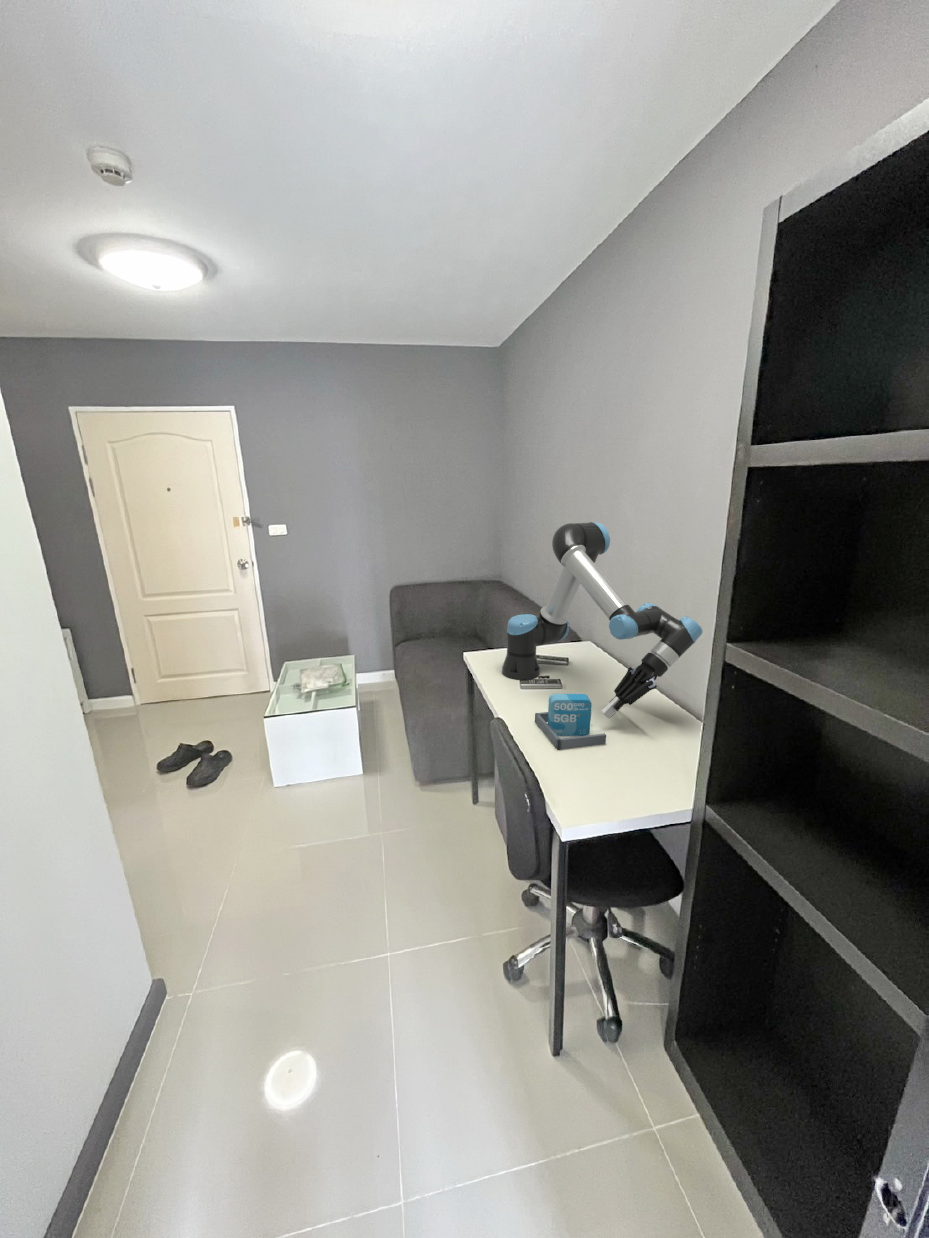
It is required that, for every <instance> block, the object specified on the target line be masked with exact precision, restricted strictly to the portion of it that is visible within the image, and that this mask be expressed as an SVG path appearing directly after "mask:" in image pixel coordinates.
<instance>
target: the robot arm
mask: <svg viewBox="0 0 929 1238" xmlns="http://www.w3.org/2000/svg"><path fill="white" fill-rule="evenodd" d="M551 541H552V542H551V543H552V544H551V545H552V551H553V553H554V556H555V557H556V559H557V560H558V562H559V563H560V564H561V566H562V568H561V571H560V573H559V575H558V577H557V580H556V583H555V585H554V587H553V590H552V592H551V594H550V597H549V599H548V602H547V604H546V605H545V606H543V607H541V609H540V610H539V614H538V615H537V616H536V615H534V614H531V613H530V614H529V613H525V614H518V615H517V614H516V615H514V616H512V617H510V618H509V619H508V623H507V629H506V632H507V634H506V636H507V639H506V655H505V658H504V662H503V665H502V667H501V674H502V675H503V676H505V677H507V678H510V679H513V680H523V679H526V680H532V679H535V678H538V677H539V676H540V674H541V673H540V672H541V669H540V665H539V662H538V658H537V647H539V646H543V645H548V644H549V645H550V644H555V643H558V642H561V641H562V640H564V639H565V638H566V637H567V636H568V634H569V631H570V626H569V625H570V622H569V617H568V615H567V614H568V611H569V609H570V607H571V606H572V603H573V601H574V599H575V597H576V594H577V592H578V590H579V589H580V588H579V587H580V585H581V586H582V587H583V589H584V590H585V591H586V592H587V594H588V595H589V596H590V597H591V599H592V600H593V601H594V603H595V604H596V605H597V606H598V608H599V609H600V610H601V612H602V613H603V614H604V615H605V616H606V618H607V619H608V620H609V622H608V629H609V631H610V634H611V635H612V637H613V638H614V639H616V640H631V639H634V638H637V637H641V636H646V635H650V634H654V635H655V636H657V637H659V638H660V640H659V641H658V642H657V643H656V644H655V645H654V646H653V647H652V648H651V649H650V652H647V653H646V654H645V655H644V657H642V659H641V664H640V665H638V666H636V668H635V667H634V668H632V666H630V667H628V669H627V671H626V673H625V675H624V676H623V678H622V679H621V680H620V682H618V684H617V686H616V687H615V688H614V690H613V692H614V693H615V696H614V697H613V698H611V700H610V701H609V703H608V704H607V705H606V706H605V707H604V708H603V709H602V710H601V712H602V713H603V715H604V716H606V718H608V719H610V718H611V717H612V716H613V715H614V714H616V712H617V711H620V709H621V708H622V707H624V705H626V704H627V705H629V706H630V705H633V704H634V703H636V702H637V701H638V700H639V699H641V698H642V697H644V696H645V695H647V693H649V692H650V691H653V690H654V689H656V688H657V687H658V686H657V684H656V680H657V677H658V678H659V677H660V678H661V677H663V675H664V674H666V672H667V671H668V670H669V668H671V667H672V666H673V665H674V664H675V663H676V662H677V661H678V659H679V658H681V657H682V656H683V655H684V653H685V652H687V651H688V650H689V648H691V646H693V645H694V644H696V641H698V639H699V638H700V637H701V636H702V635H703V629H702V626H701V625H700V624H699V623H698V622H697V621H696V620H694V619H693V618H692V617H689V616H683V617H681V618H680V619H678V618H675V617H674V616H672V615H671V614H669V613H668V612H667V611H665V610H664V609H662V608H660V607H659V606H657V605H655V604H653V603H651V602H645V603H643V604H642V605H640V606H639V607H638V608H637V610H636V611H635V610H634V609H633V608H632V607H631V605H630V604H629V603H628V602H627V601H626V599H624V597H623V596H622V595H621V594H620V592H619V591H618V589H616V587H614V585H613V584H612V582H611V581H609V579H608V578H607V577H606V575H605V574H604V573H603V572H602V571H601V569H600V568H599V567H598V566H597V565H596V561H597V558H598V557H599V555H603V554H605V553H606V552H607V551H608V549H609V547H610V543H611V537H610V535H609V530H608V528H607V527H606V526H605V525H603V524H602V523H600V522H593V521H588V522H578V523H577V522H576V523H573V522H572V523H566V524H563V525H562V526H560V527H559V528H557V530H556V531H555V532H554V535H553V536H552V540H551Z"/></svg>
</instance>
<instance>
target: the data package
mask: <svg viewBox="0 0 929 1238" xmlns="http://www.w3.org/2000/svg"><path fill="white" fill-rule="evenodd" d="M547 706H548V708H547V712H548V722H547V724H548V725H549V726H550V727H551V729H552V730H553V731H554V732H555V733H556V735H557V736H558V737H577V736H586V735H590V732H591V718H592V701H591V699H590V698H589V696H588V694H585V693H552V694H550V696H549V697H548V705H547Z"/></svg>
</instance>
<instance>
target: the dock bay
mask: <svg viewBox="0 0 929 1238" xmlns="http://www.w3.org/2000/svg"><path fill="white" fill-rule="evenodd" d="M534 723H535V724H536V726H537V727H538V728H539V729H540V730H541V732H542V733H543V734H544V735H545V737H546V738H547V739H548V740H549V742H550V743H551V744H552V745H553V747H555V749H556V750H557V751H560V750H561V751H563V750H568V749H577V748H586V747H593V746H604V745H606V744H607V743H606V742H607V734H606V733H595V734H588V735H586V736H568V737H562V738H560V736H557V735H556V733H555V732H554V731H553V730H552V729H551V727H550V726H549V725H548V711H543V712H535V713H534Z"/></svg>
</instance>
